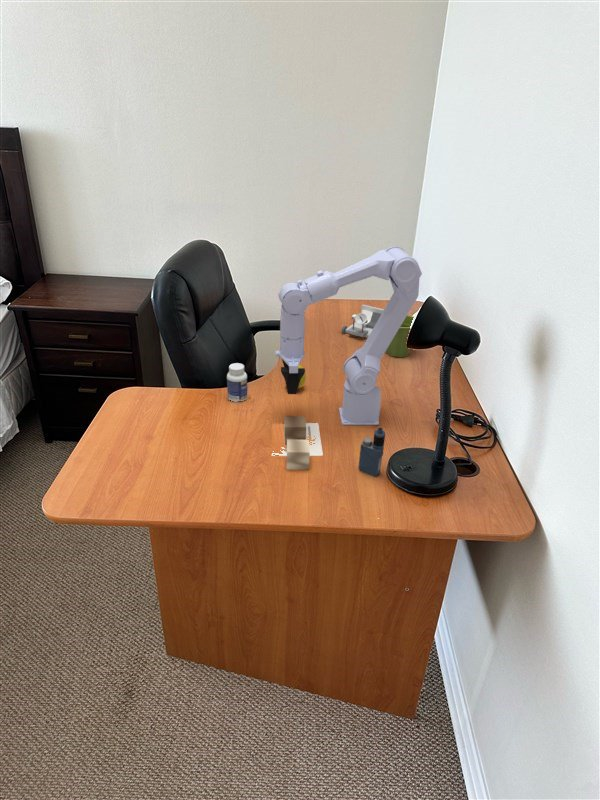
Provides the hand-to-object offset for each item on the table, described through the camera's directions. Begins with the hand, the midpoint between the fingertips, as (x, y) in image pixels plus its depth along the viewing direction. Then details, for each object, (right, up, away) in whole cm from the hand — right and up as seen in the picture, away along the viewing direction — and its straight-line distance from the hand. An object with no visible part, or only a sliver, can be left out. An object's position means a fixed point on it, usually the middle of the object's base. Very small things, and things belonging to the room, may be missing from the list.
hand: (291, 385), depth 138 cm
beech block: (+2, -18, -10) cm, 21 cm away
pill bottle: (-15, -3, +15) cm, 21 cm away
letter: (+1, -13, -2) cm, 13 cm away
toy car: (+25, +20, +57) cm, 65 cm away
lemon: (+1, -1, +20) cm, 20 cm away
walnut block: (+1, -13, -2) cm, 13 cm away
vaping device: (+18, -20, -12) cm, 29 cm away
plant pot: (+34, +11, +43) cm, 56 cm away
